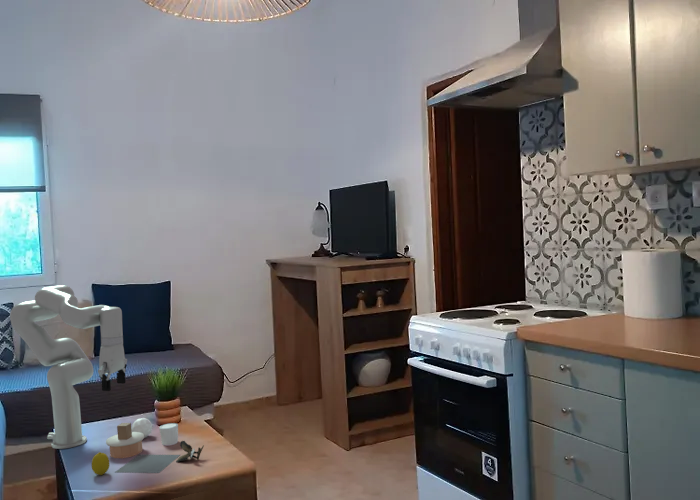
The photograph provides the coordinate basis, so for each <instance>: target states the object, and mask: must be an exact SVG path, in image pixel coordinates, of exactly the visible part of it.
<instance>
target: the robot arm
mask: <svg viewBox="0 0 700 500" xmlns="http://www.w3.org/2000/svg"><path fill="white" fill-rule="evenodd" d="M58 315H59V316H60V318H61V320H62V322H63V323H64V324H65V325H68V326H70V327H73V328H75V329H79V330H83V329H84V330H85V329H89V328H94V327H99V326H100V350H99V360H98V361H99V362H98V363H99V364H98V365H99V366H98V370H97V372H98V377H99V378H100V381H101V390H102V391H103V392H110V391H112V390H111V389H112V387H111V385H112V384H111V379H110V378H111V376H112V374H114V373H116V383H117V384H120V385H121V384H123V385H124V384H126V370H127V369H126V368H127V366H128V365H127V364H128V358H126V356H125V348H124V335H123V311H122V309H121V308H120V307H118V306H109V305H105V304H99V305H92V306H87V307H82V308H79V300H78V298H77V297H76V296H75V293H74V290H73V288H71V287H70V286H68V285H64V284H62V285H61V284H60V285H54V286H46V287H45V286H44V287H42V288H40V289H39V290H37V291H36V293H35V295H34V300H28V301H24V302H20V303H18V304H16V305H14V306H13V307H12V308H11V310H10V315H9V316H10V317H9V319H10V323H11V326H12V328H13V330H14V331H15V332H16V334H17V335H19V337H20V338H21V339H22V340H23V341H24V342H25V344H27V346H28V347H29V349H30V351H32V353H33V355H34V356H35V357H36V359H37V361H38V362H39V363H40V364H41V365H42V366H44V367H50V368H49V369H48V371H47V374H46V379H47V382H48V386H49V390H50V394H51V405H52V414H53V415H52V416H53V425H54V426H53V427H54V431H53V432H48V434H47V436H46V438H47V439H48V440H52V442H51V444H50V446H51V447H52V449H57V450H65V449H71V448H75V447H79V446H81V445H84V444H85V443H86V442H87V440H88V438H87V436H86V435H83V431H82V430H83V429H82V417H81V405H80V396H79V393H78V392H77V390H76V388H74V385H77V384H80V383H85V382H86V381H88V380H90V379H91V378H92V377H93V375H94V371H95V370H94V365H93V363H92V361H91V360H90V359H89V357H88V356H87V355H86V353H85V352H84V350H83V349H82V348H81V346H80V344H79V343H78V342H77V341H76V340H74V339H73V338H71V337H62V338H61V337H60V338H56V339H55V338H53V337H52V336H51V335H50V333H49V332H48V330H47V329H45V328H44V327H43V326H41V325H39V324H37V323H36V322H42V321H45V320H51V319H53V318H56V317H57V316H58Z"/></svg>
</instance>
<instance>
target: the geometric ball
mask: <svg viewBox="0 0 700 500" xmlns="http://www.w3.org/2000/svg"><path fill="white" fill-rule="evenodd" d="M131 430H132V432H140V433H143V434H144V439H146V438H148V437H149V435H150V434H152V430H153V424H152V422H151V420H150V419H148V418H145V417H142V418H141V417H140V418H137V419H135V420H134V422H133V423H131Z"/></svg>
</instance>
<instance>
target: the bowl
mask: <svg viewBox="0 0 700 500" xmlns="http://www.w3.org/2000/svg"><path fill="white" fill-rule="evenodd" d="M142 452H143V440H141V441H139V442H137V443H135V444H131V445H127V446H118V447H113V446H109V455H110V456H109V457H111V458H113V459H126V458H132V457H134V456H135V457H136V456H138V455H140V453H142Z"/></svg>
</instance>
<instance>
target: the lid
mask: <svg viewBox="0 0 700 500" xmlns="http://www.w3.org/2000/svg"><path fill="white" fill-rule="evenodd" d="M116 429H117V432H116V433H117V434H114V435H112V436H110V437H108V438H107V439H106V440H105V444H106V445H107V446H109V447H110V446H113V447H118V446H127V445H131V444H135V443H137V442H139V441H141V440H142V441H143V440H144V439H145V438H144V434H143V433H140V432H132V430H131V429H132V422H121V423H119V424H118V425H117V426H116Z"/></svg>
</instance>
